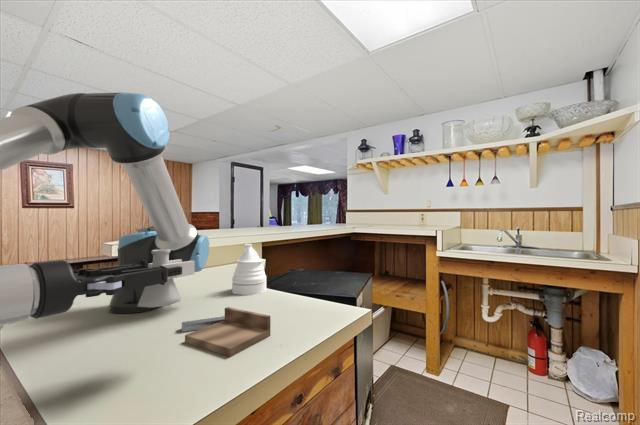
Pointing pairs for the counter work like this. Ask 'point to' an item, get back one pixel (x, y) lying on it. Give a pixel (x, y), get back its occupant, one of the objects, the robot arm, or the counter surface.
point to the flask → (158, 292)
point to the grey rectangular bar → (200, 323)
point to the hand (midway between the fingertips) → (186, 266)
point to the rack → (232, 332)
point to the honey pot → (249, 274)
